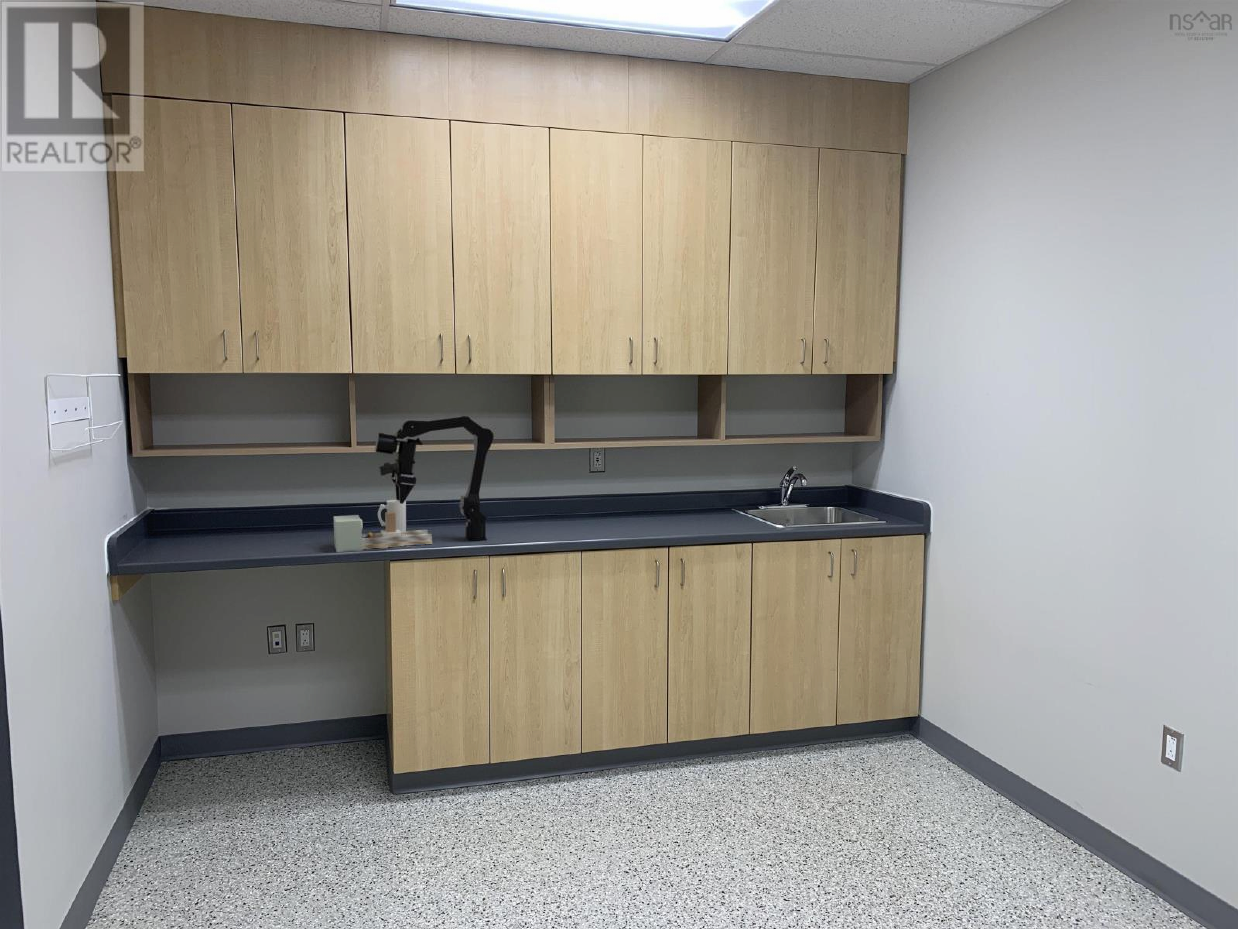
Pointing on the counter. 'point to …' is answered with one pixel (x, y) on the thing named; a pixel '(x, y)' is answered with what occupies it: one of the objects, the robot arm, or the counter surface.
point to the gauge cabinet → (348, 533)
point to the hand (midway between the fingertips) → (399, 501)
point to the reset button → (368, 535)
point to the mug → (399, 512)
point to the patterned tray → (397, 539)
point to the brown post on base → (390, 525)
